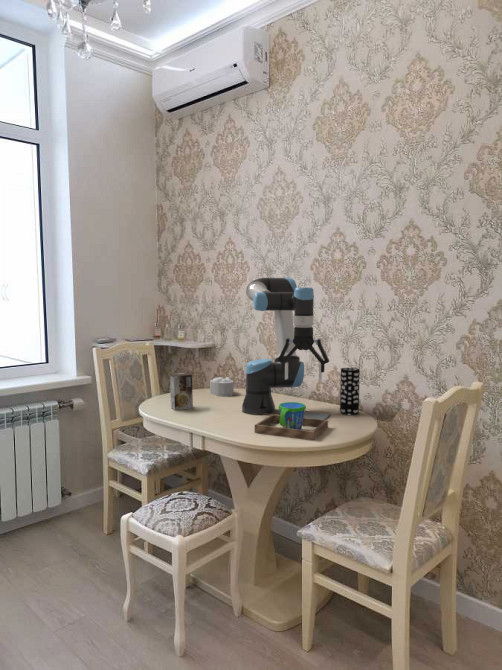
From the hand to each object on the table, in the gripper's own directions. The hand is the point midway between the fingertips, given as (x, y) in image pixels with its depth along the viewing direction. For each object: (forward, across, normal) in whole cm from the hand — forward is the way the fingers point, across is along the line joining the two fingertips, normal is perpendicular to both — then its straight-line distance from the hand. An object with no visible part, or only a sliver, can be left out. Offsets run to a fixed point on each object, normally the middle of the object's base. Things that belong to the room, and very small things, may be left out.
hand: (303, 379), depth 206 cm
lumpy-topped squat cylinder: (+20, -53, +54) cm, 78 cm away
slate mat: (+20, -1, +17) cm, 26 cm away
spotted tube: (+20, +15, +31) cm, 40 cm away
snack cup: (+20, -4, -4) cm, 21 cm away
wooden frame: (+20, -4, -4) cm, 20 cm away
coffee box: (+20, -61, +18) cm, 67 cm away
